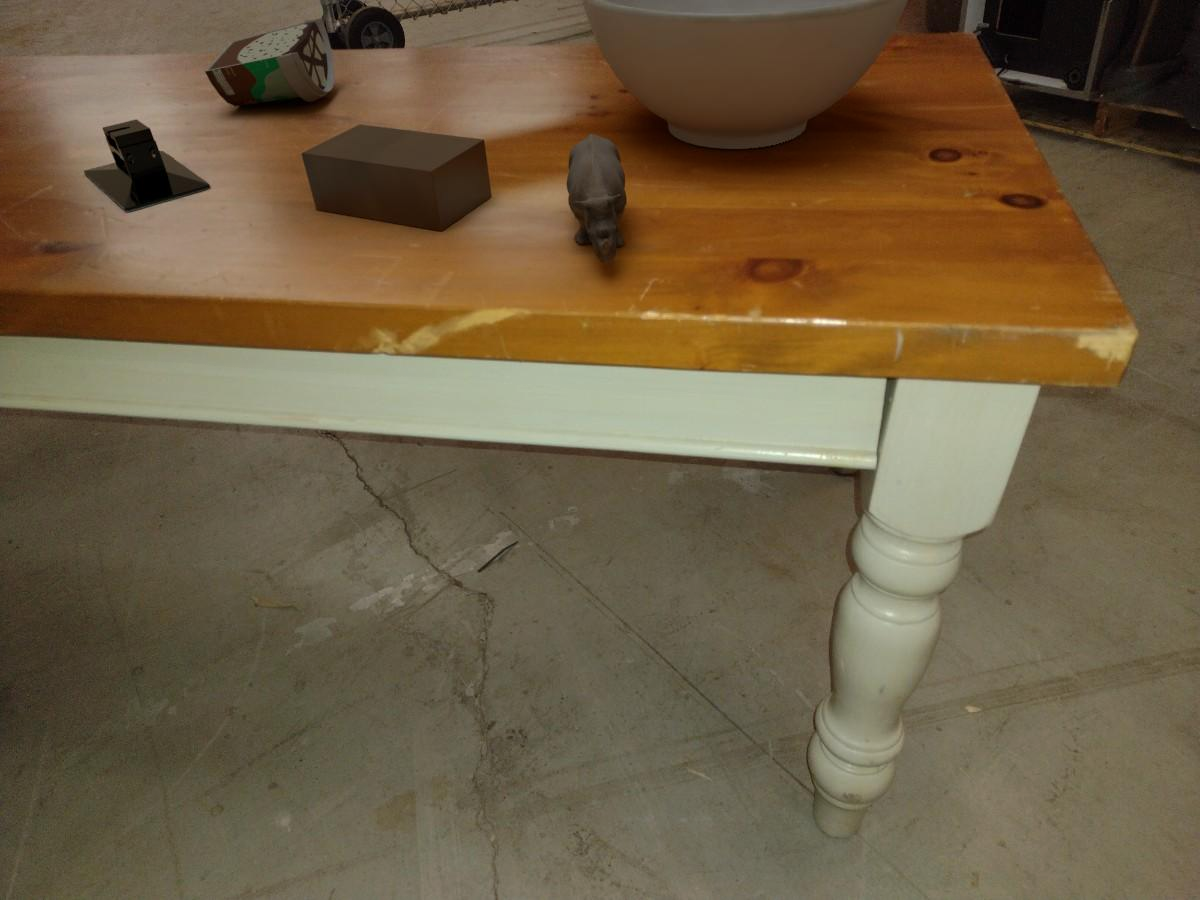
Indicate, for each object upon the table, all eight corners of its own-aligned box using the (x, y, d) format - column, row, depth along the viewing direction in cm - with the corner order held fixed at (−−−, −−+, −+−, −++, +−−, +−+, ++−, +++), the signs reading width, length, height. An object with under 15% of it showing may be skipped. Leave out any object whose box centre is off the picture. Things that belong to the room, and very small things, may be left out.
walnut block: (300, 152, 65) (431, 171, 61) (359, 124, 70) (484, 139, 66) (315, 209, 68) (441, 231, 64) (371, 178, 73) (492, 196, 69)
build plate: (84, 175, 78) (62, 122, 75) (166, 154, 81) (148, 103, 78) (126, 212, 70) (102, 155, 67) (214, 187, 73) (196, 131, 71)
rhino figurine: (572, 289, 56) (565, 198, 52) (569, 205, 66) (563, 125, 63) (635, 284, 56) (633, 194, 52) (622, 201, 66) (619, 121, 63)
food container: (230, 137, 89) (322, 116, 88) (199, 76, 85) (295, 54, 84) (261, 93, 98) (345, 74, 97) (235, 37, 94) (322, 16, 93)
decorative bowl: (629, 80, 92) (626, -50, 84) (893, 87, 85) (914, -53, 78) (549, 172, 72) (535, 12, 64) (886, 191, 65) (914, 15, 58)
